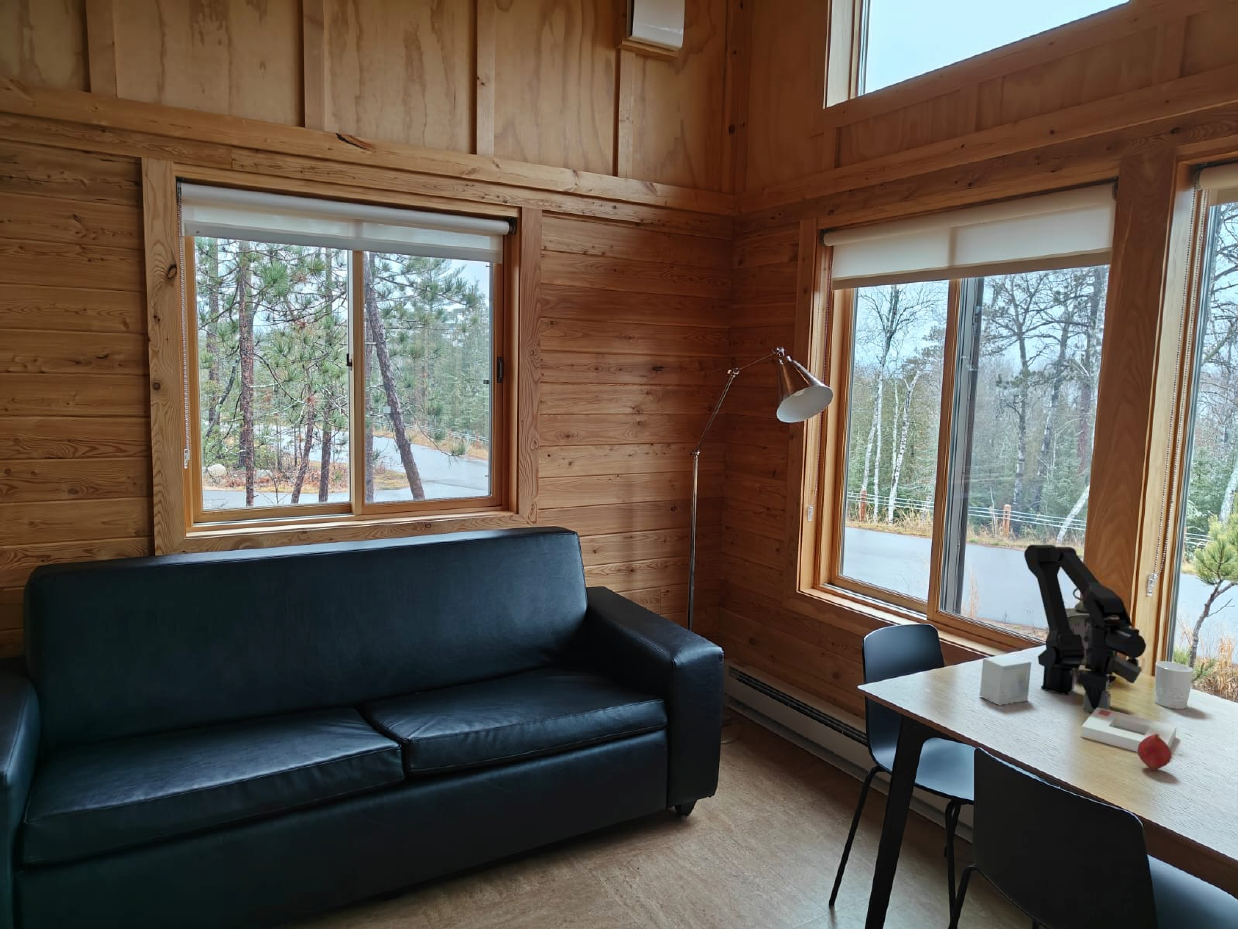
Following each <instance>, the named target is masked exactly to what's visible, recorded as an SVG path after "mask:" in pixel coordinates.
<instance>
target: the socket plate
mask: <svg viewBox="0 0 1238 929" xmlns="http://www.w3.org/2000/svg"><path fill="white" fill-rule="evenodd" d="M1155 733H1158V734H1159V737H1160V738H1161V739H1162V740H1163V741H1164V742H1165V743H1166V744H1167V745H1168V747H1169V749H1170V748H1171V746H1172V745H1173V743H1174V741H1175V739H1176V734H1177V726H1175V725H1173V724H1169V723H1164V722H1160V721H1155V720H1151V719H1148V718H1144V717H1140V716H1136V715H1130V714H1127V713H1124V712H1123V713H1122V712H1119V711H1115V710H1111V709H1110V710H1107V709H1103V708H1099V707H1097V708H1096V709H1095V711H1094V712H1091V714H1090V715H1089V717H1088V718H1087V719H1086V720H1085V721H1084V723H1083V724H1082V725H1081V732H1080V738H1085V739H1089V740H1092V741H1095V742H1099V743H1103V744H1107V745H1110V746H1115V747H1118V748H1122V749H1126V750H1129V751H1132V752H1137V753H1138V746H1139V744H1140V742H1141V741H1142V740H1144V739H1145V738H1147V737H1149V736H1152V735H1154V734H1155ZM1170 750H1171V749H1170Z"/></svg>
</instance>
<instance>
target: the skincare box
mask: <svg viewBox="0 0 1238 929" xmlns="http://www.w3.org/2000/svg"><path fill="white" fill-rule="evenodd" d="M1031 666H1032V661H1030V660H1027V659H1024V658H1022V657H1020V656H1017V655H1015V654H1005V655H997V656H992V657H983V658H982V667H981V668H982V671H981V681H980V689H979V696H982V697H983V698H986V699H988V700H989V701H988V700H987V701H988V702H990V701H991V702H990V703H992V702H994V703H997V704H998V705H997V706H1003V705H1002V704H1005V705H1009V704H1008V703H1011V704H1014V703H1013V702H1017V703H1022V701H1023V702H1026V701H1028V700H1029V689H1030V679H1031V670H1032V669H1031V668H1032V667H1031ZM983 698H982V699H983ZM994 703H993V704H994Z"/></svg>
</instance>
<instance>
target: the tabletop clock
mask: <svg viewBox="0 0 1238 929" xmlns="http://www.w3.org/2000/svg"><path fill="white" fill-rule="evenodd" d="M1077 591H1079V590H1078V588H1077V587H1076V588H1074V589H1073V591H1072V595H1073V598H1075V600H1079V602H1078V603H1076V604H1075V606H1074V607H1071V608H1070V607H1068V608H1067V607H1065V609H1066V613H1067V618H1068V622H1069V626H1070V629H1071V630H1072V631H1073V632H1074V633H1075V634H1080V635H1081V637H1082V643H1083V646H1084V648H1085V650H1084V658H1083V660H1082V663H1081V665H1080V666H1083V667H1085V664H1086V663H1087V656H1088V653H1087V652H1086V648H1087V647H1088V644H1089V632H1090V624H1089V623H1086V622H1084V619H1085V618H1087V617H1089V616H1090V615H1089V613H1088V612H1087V610H1086V608H1085V606H1084V605H1083V603H1082V599H1083V597H1078V596H1077V595H1076V594H1075V593H1076V592H1077ZM1104 619H1112V618H1104ZM1079 670H1080V668H1079V669H1073V671H1079Z"/></svg>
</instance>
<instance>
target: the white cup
mask: <svg viewBox="0 0 1238 929" xmlns="http://www.w3.org/2000/svg"><path fill="white" fill-rule="evenodd" d="M1193 672H1194V668H1192V667H1191V666H1189V665H1186V664H1183V663H1179V662H1173V661H1167V660H1166V661H1163V660H1161V661H1159V660H1158V661H1156V662H1155V675H1154V691H1155V694H1154V695H1155V696H1154V697H1155V698H1154V700H1155V703H1156V704H1157V705H1160V706H1162V707H1166V708H1170V709H1173V708H1176V709H1175V710H1184V708H1185V709H1186V708H1188V702H1189V698H1190V692H1191V685H1192V679H1193Z"/></svg>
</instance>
